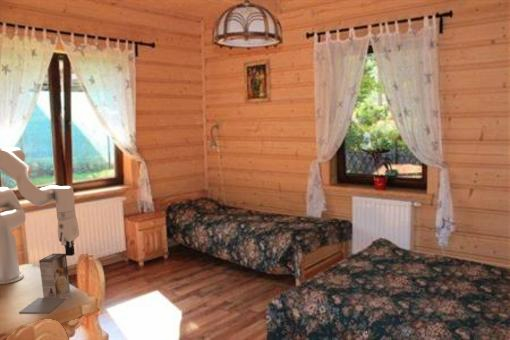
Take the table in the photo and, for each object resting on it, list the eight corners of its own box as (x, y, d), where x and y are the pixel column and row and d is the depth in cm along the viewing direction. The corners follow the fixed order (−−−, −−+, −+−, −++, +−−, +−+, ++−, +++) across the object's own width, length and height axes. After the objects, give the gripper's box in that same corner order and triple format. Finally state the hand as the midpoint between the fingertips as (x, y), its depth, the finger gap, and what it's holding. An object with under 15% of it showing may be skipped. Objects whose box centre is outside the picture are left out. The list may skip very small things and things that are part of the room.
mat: (19, 313, 170) (19, 312, 170) (38, 298, 183) (38, 297, 183) (49, 313, 169) (49, 312, 169) (66, 298, 181) (66, 297, 181)
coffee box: (56, 289, 192) (53, 252, 190) (70, 289, 191) (66, 253, 189) (42, 298, 183) (38, 260, 181) (56, 298, 182) (52, 260, 180)
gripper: (65, 218, 189) (70, 260, 191) (82, 210, 203) (86, 249, 206) (48, 219, 189) (53, 260, 192) (66, 210, 204) (70, 249, 207)
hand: (70, 255), depth 199 cm, fingers closed
